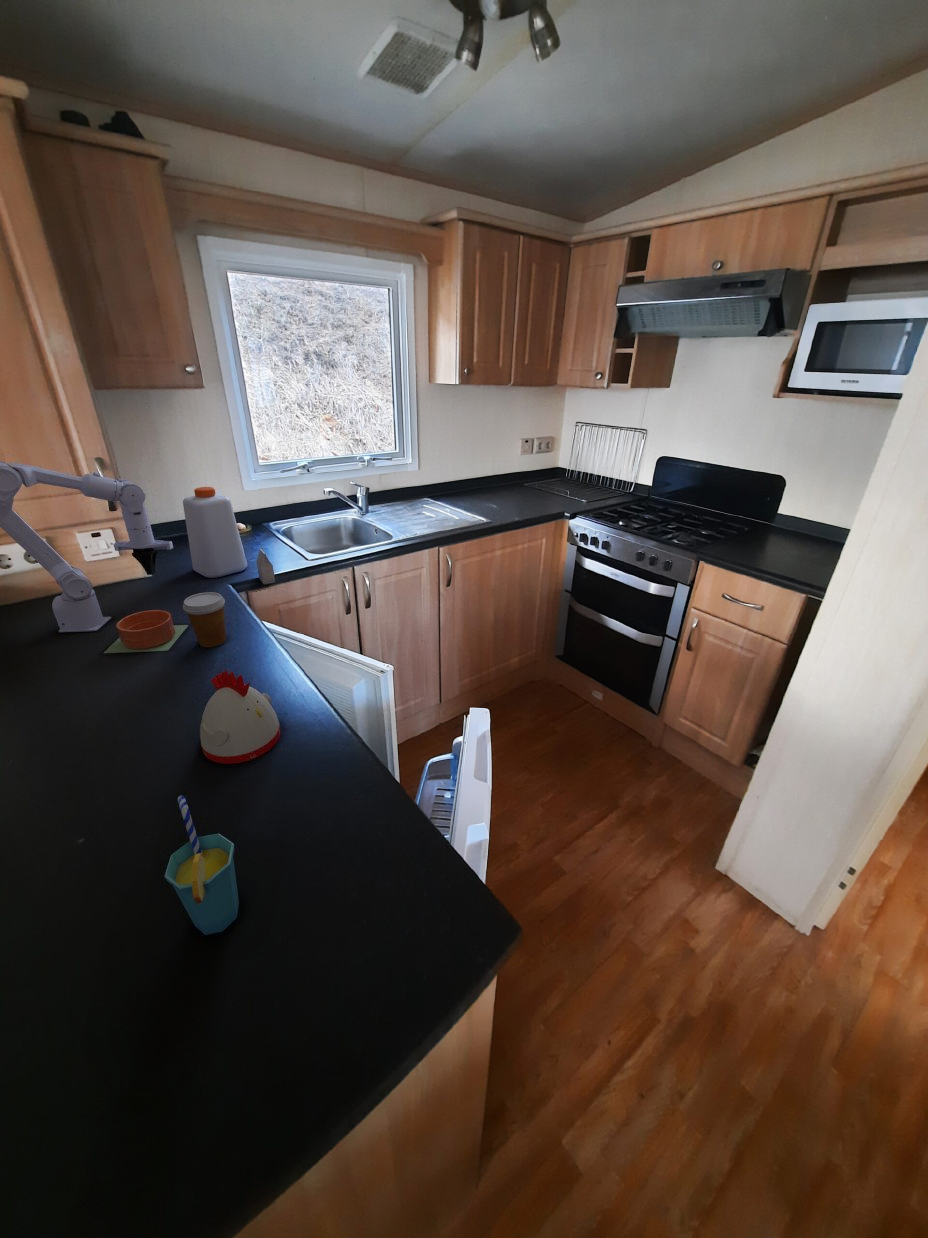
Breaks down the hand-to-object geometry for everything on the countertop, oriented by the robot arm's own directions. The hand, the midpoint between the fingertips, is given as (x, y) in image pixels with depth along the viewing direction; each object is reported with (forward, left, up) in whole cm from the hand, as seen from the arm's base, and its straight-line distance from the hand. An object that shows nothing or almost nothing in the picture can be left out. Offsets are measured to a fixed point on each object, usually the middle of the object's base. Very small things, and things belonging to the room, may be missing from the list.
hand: (151, 573), depth 144 cm
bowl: (+6, -21, -10) cm, 24 cm away
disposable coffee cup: (+22, -23, -11) cm, 34 cm away
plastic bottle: (+8, +30, -11) cm, 33 cm away
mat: (+5, -20, -10) cm, 23 cm away
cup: (+46, -98, -11) cm, 109 cm away
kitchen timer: (+40, -63, -11) cm, 75 cm away
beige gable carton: (+26, +19, -11) cm, 34 cm away
